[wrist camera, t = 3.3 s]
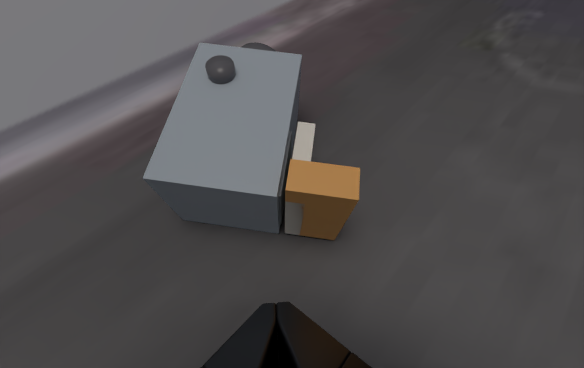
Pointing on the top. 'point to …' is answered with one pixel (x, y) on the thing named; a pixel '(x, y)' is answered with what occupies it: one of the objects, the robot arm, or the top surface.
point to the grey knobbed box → (230, 138)
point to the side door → (317, 191)
